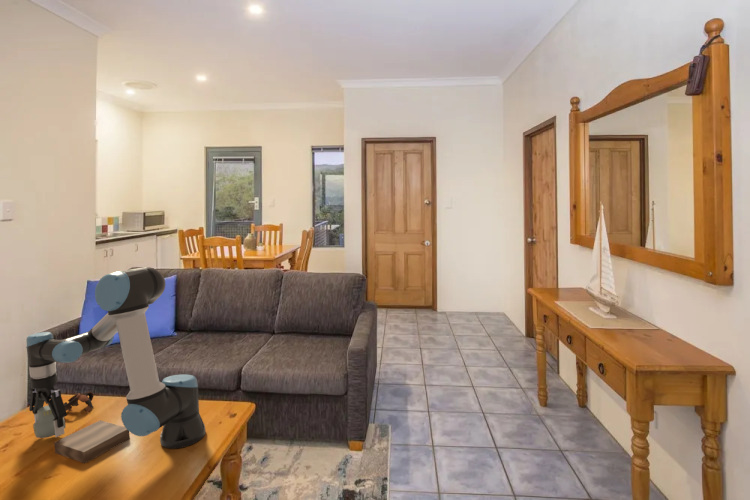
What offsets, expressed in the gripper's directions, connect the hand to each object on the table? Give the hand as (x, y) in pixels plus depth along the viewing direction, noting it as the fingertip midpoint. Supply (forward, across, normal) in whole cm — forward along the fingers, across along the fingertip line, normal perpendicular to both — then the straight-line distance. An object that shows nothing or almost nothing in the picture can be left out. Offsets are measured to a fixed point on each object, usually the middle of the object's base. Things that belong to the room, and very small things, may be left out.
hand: (50, 432), depth 152 cm
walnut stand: (+3, -20, -3) cm, 20 cm away
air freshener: (+1, 0, 0) cm, 1 cm away
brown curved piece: (+3, +13, -19) cm, 23 cm away
